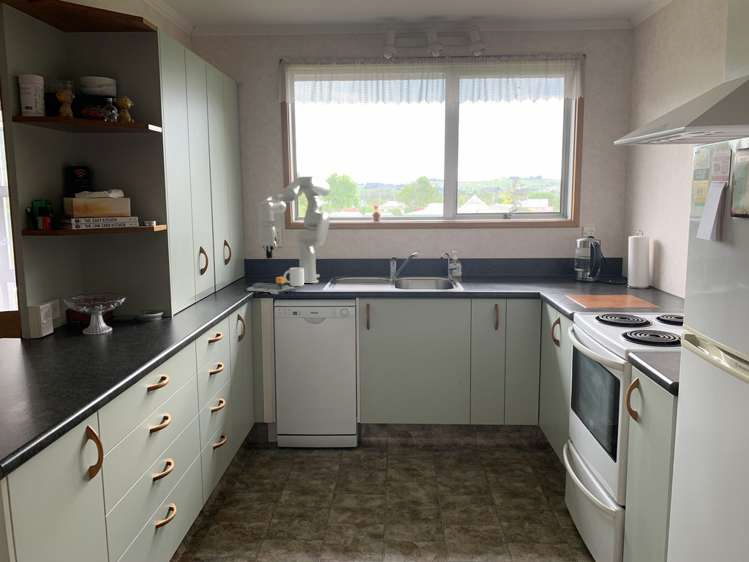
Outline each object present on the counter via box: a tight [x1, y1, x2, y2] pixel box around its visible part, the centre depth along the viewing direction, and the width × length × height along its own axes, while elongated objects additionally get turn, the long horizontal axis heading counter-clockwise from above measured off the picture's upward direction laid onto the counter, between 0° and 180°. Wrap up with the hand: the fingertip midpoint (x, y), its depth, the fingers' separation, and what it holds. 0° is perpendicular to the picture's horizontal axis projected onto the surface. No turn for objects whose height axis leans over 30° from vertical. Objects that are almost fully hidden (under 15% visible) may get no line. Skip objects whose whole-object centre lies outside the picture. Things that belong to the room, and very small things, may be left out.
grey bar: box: [279, 287, 297, 295], centre depth 324 cm, size 13×1×1 cm, turn 151°
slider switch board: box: [246, 282, 295, 295], centre depth 330 cm, size 14×21×4 cm, turn 61°
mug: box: [283, 266, 305, 287], centre depth 346 cm, size 12×8×10 cm
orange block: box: [275, 276, 287, 286], centre depth 326 cm, size 4×4×6 cm
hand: (269, 258), depth 329 cm, fingers closed
